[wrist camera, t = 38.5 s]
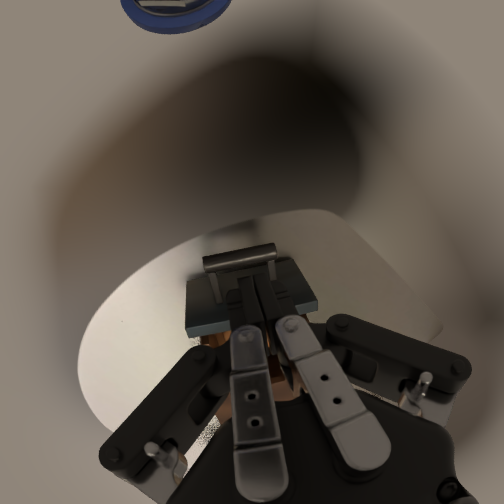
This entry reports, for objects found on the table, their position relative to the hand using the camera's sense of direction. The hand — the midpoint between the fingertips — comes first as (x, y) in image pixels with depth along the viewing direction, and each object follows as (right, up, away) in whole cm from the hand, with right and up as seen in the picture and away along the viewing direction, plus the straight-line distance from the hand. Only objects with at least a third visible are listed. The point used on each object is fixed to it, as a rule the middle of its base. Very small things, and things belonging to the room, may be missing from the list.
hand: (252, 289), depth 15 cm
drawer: (-1, -4, +17) cm, 17 cm away
